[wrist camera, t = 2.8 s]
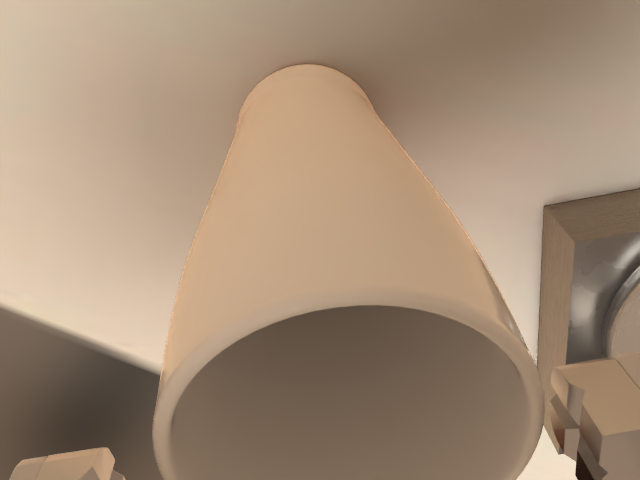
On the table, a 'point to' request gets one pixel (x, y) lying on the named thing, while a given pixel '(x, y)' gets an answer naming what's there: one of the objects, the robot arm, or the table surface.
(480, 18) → the table surface
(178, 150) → the table surface
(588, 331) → the dial scale
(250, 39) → the table surface
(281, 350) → the drinking glass
